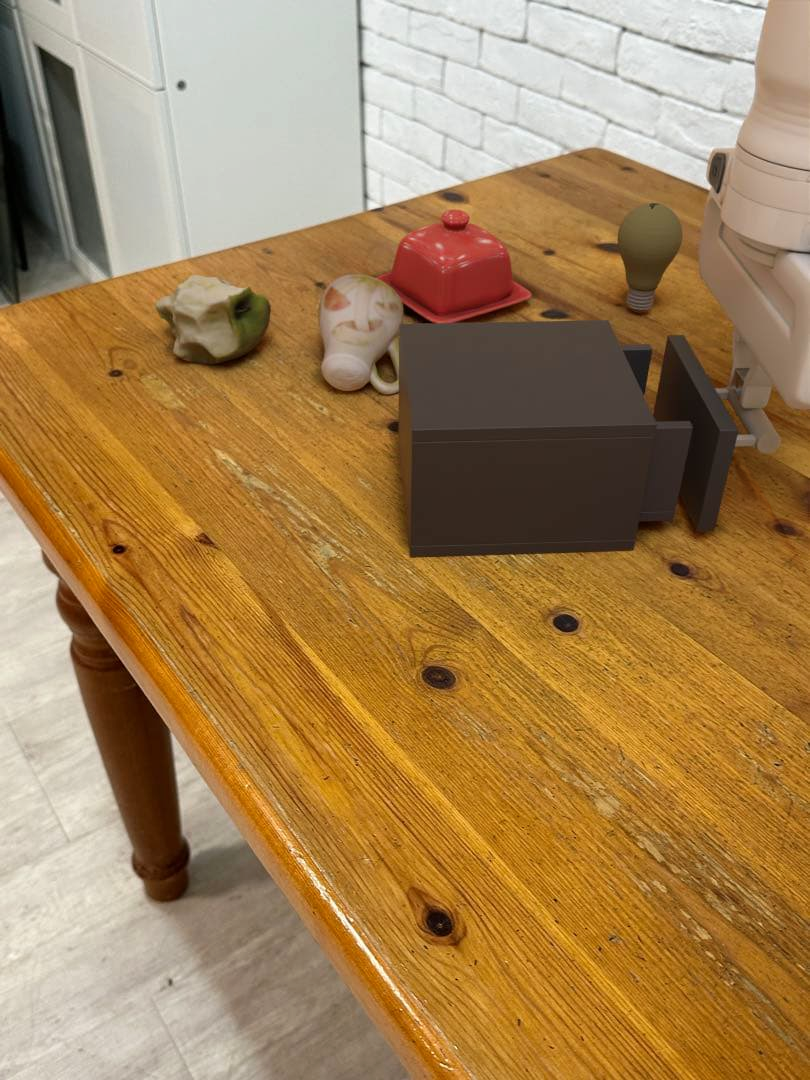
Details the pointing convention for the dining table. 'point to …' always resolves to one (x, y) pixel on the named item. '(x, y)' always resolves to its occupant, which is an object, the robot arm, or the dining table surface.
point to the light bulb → (647, 250)
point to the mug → (359, 331)
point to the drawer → (692, 435)
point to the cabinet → (520, 438)
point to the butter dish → (453, 271)
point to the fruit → (214, 319)
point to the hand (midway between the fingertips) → (746, 398)
